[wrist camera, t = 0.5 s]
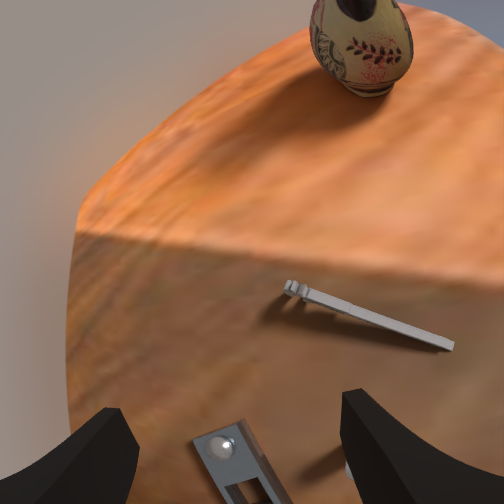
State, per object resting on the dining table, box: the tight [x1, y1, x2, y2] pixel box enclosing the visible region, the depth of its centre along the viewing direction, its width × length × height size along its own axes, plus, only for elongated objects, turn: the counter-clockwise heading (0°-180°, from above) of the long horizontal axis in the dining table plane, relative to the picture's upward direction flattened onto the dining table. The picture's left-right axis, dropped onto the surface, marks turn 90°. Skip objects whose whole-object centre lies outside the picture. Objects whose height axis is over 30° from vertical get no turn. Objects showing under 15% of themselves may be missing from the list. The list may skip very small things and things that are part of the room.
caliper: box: [283, 280, 455, 351], centre depth 28 cm, size 20×1×6 cm, turn 67°
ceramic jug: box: [309, 0, 414, 97], centre depth 27 cm, size 17×16×30 cm
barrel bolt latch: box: [192, 419, 293, 504], centre depth 26 cm, size 18×6×4 cm, turn 27°
